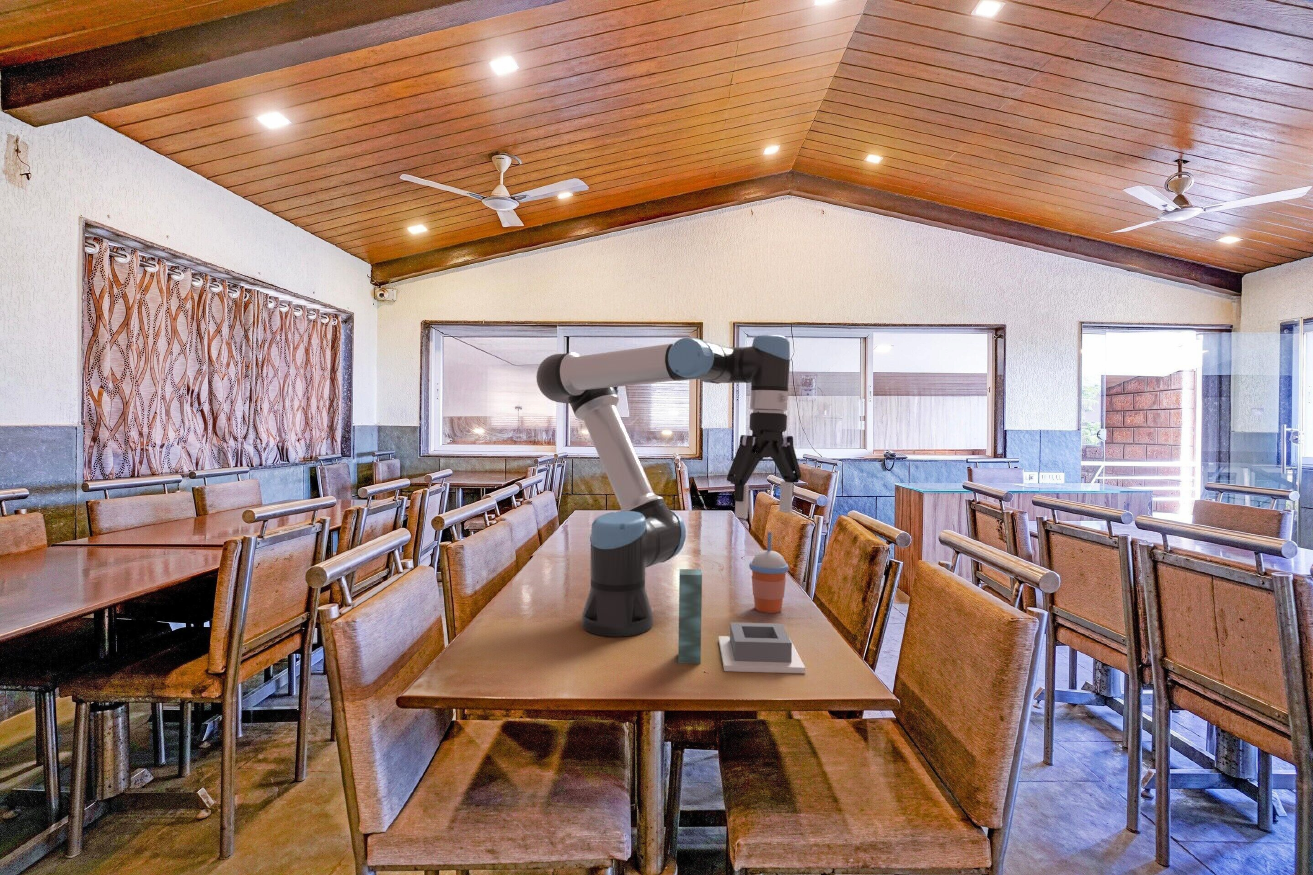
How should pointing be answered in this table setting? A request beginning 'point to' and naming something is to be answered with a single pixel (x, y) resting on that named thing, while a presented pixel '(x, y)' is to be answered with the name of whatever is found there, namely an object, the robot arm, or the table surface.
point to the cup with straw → (768, 579)
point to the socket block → (759, 649)
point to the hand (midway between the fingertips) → (763, 515)
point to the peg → (690, 616)
